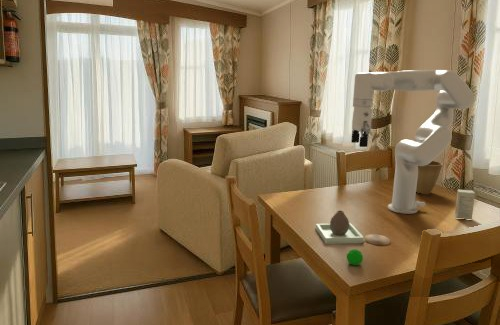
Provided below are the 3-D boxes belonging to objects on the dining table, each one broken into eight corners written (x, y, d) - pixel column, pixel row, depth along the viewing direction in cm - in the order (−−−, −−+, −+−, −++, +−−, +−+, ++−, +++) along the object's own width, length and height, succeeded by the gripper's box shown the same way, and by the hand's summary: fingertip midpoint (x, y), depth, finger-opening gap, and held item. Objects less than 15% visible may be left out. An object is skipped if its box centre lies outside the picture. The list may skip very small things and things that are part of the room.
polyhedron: (364, 267, 130) (365, 253, 129) (349, 268, 129) (350, 254, 128) (358, 260, 135) (359, 246, 134) (344, 260, 134) (345, 247, 133)
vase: (348, 238, 151) (350, 215, 149) (329, 236, 152) (331, 213, 150) (347, 231, 157) (349, 209, 155) (329, 229, 159) (330, 207, 157)
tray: (350, 228, 162) (351, 223, 161) (363, 242, 148) (363, 237, 148) (315, 228, 161) (316, 223, 160) (325, 243, 147) (325, 238, 147)
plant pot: (443, 197, 205) (447, 165, 202) (413, 196, 205) (417, 165, 202) (431, 188, 220) (434, 159, 216) (403, 187, 220) (406, 158, 216)
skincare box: (470, 217, 177) (474, 190, 174) (471, 221, 173) (476, 193, 170) (453, 215, 179) (457, 188, 176) (454, 219, 175) (458, 191, 172)
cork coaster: (384, 235, 156) (384, 234, 156) (394, 245, 147) (394, 244, 147) (361, 235, 155) (361, 234, 155) (370, 245, 146) (370, 244, 146)
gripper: (379, 105, 161) (375, 148, 164) (363, 101, 177) (360, 141, 181) (361, 105, 160) (357, 148, 164) (346, 101, 177) (343, 141, 180)
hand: (359, 144), depth 172 cm, fingers open, 9 cm apart
